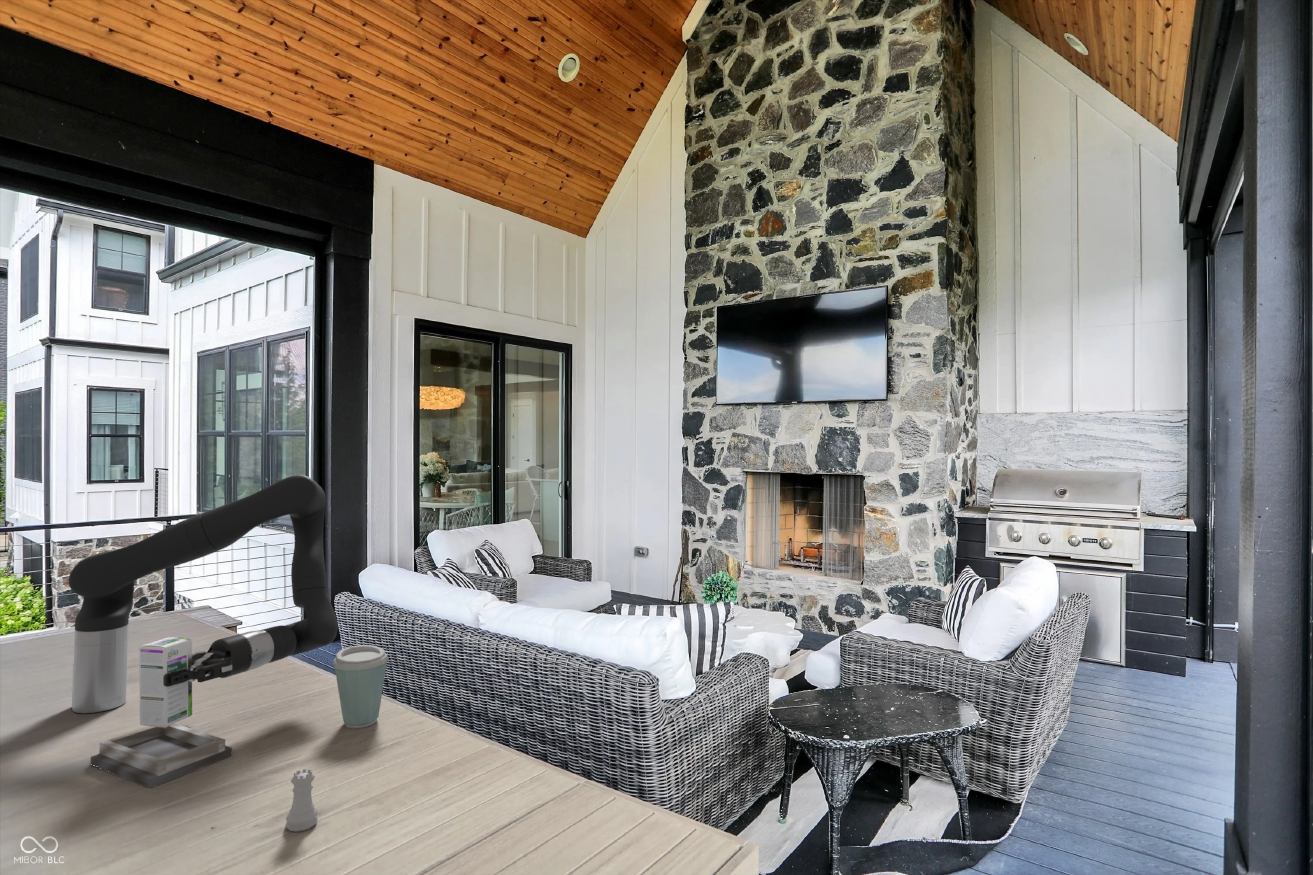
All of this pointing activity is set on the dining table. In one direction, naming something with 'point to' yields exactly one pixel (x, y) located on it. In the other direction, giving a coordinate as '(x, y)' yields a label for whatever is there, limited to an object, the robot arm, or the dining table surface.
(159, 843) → the dining table surface
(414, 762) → the dining table surface
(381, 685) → the disposable coffee cup
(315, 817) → the rook chess piece
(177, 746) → the shallow rectangular tray
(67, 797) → the dining table surface
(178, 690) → the syrup box
